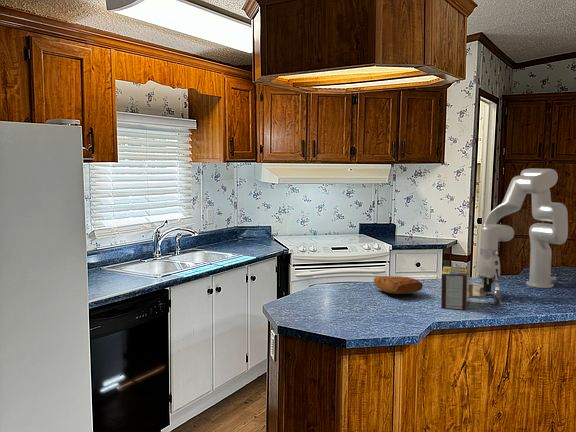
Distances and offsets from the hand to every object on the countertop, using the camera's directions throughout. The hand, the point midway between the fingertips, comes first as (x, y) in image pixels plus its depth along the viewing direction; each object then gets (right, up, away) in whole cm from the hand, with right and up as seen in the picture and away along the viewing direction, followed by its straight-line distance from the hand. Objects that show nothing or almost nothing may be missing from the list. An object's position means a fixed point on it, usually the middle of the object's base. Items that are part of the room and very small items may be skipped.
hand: (487, 291), depth 239 cm
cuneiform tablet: (-40, -2, +8) cm, 41 cm away
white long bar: (+3, -3, -2) cm, 5 cm away
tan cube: (-2, -2, +5) cm, 6 cm away
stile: (-8, -2, +2) cm, 9 cm away
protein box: (-19, -4, -12) cm, 23 cm away
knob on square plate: (0, -4, -11) cm, 12 cm away
